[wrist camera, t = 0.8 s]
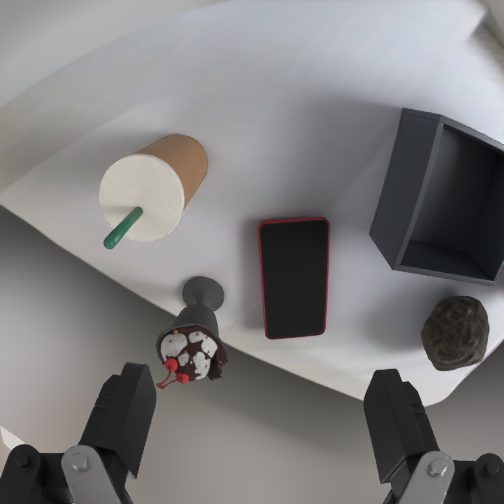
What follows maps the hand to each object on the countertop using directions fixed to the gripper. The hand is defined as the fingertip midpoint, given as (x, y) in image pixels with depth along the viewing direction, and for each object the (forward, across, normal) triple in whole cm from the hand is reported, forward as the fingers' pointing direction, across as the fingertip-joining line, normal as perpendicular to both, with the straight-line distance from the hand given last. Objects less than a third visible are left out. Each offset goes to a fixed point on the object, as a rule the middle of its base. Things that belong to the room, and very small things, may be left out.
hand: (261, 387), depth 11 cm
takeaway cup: (+24, +8, -2) cm, 25 cm away
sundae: (+24, +6, +13) cm, 28 cm away
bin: (+24, -20, -1) cm, 31 cm away
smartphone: (+24, -4, +10) cm, 26 cm away
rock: (+24, -26, +17) cm, 39 cm away
